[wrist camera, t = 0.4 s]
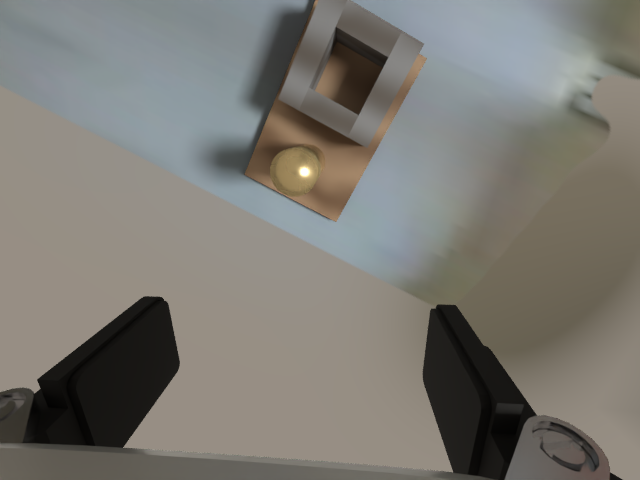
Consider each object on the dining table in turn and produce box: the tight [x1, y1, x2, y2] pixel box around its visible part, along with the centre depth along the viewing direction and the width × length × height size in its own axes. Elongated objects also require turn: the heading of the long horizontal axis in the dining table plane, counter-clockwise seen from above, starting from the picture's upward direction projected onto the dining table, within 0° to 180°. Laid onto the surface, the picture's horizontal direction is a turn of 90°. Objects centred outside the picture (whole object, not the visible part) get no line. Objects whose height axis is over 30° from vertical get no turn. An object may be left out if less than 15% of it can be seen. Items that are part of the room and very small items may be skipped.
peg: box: [270, 144, 325, 197], centre depth 33 cm, size 4×4×12 cm
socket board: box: [244, 0, 427, 222], centre depth 35 cm, size 22×14×6 cm, turn 153°
